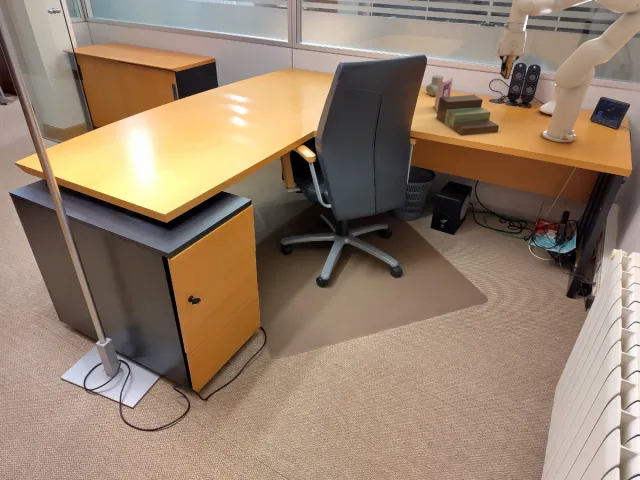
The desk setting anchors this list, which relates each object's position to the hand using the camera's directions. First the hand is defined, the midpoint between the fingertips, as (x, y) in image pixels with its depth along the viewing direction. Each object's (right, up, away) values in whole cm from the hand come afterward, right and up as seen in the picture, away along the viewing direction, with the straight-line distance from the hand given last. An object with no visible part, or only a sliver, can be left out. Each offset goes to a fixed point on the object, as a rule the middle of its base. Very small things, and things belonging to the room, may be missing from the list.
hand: (505, 70), depth 197 cm
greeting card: (-25, -11, +23) cm, 35 cm away
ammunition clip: (0, -2, +2) cm, 3 cm away
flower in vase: (+32, -14, +19) cm, 40 cm away
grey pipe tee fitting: (-21, +4, +45) cm, 49 cm away
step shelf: (-17, -24, +4) cm, 30 cm away
